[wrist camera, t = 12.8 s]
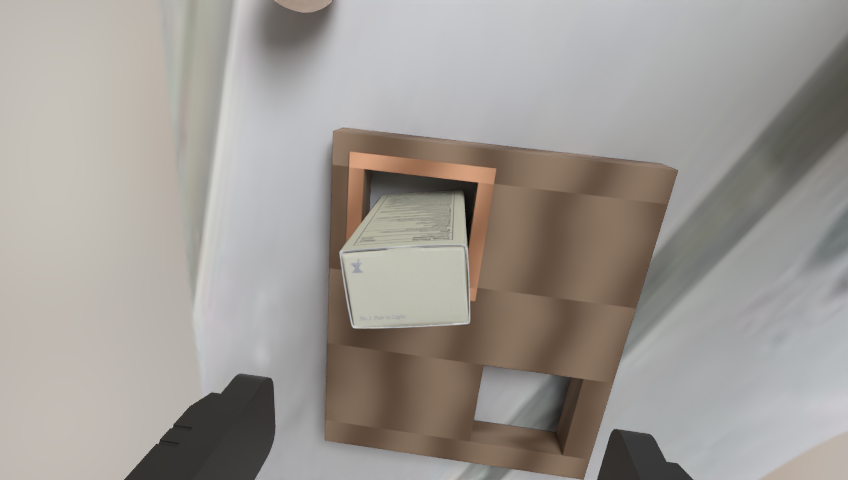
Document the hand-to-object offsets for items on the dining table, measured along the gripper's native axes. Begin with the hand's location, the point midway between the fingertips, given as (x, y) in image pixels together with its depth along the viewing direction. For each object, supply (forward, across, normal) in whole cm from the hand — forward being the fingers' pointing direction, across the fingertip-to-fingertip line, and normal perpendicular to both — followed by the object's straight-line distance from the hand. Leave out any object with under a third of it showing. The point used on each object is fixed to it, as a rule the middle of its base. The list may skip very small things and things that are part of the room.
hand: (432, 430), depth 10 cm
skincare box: (+23, +2, +2) cm, 23 cm away
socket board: (+22, -2, +9) cm, 24 cm away
